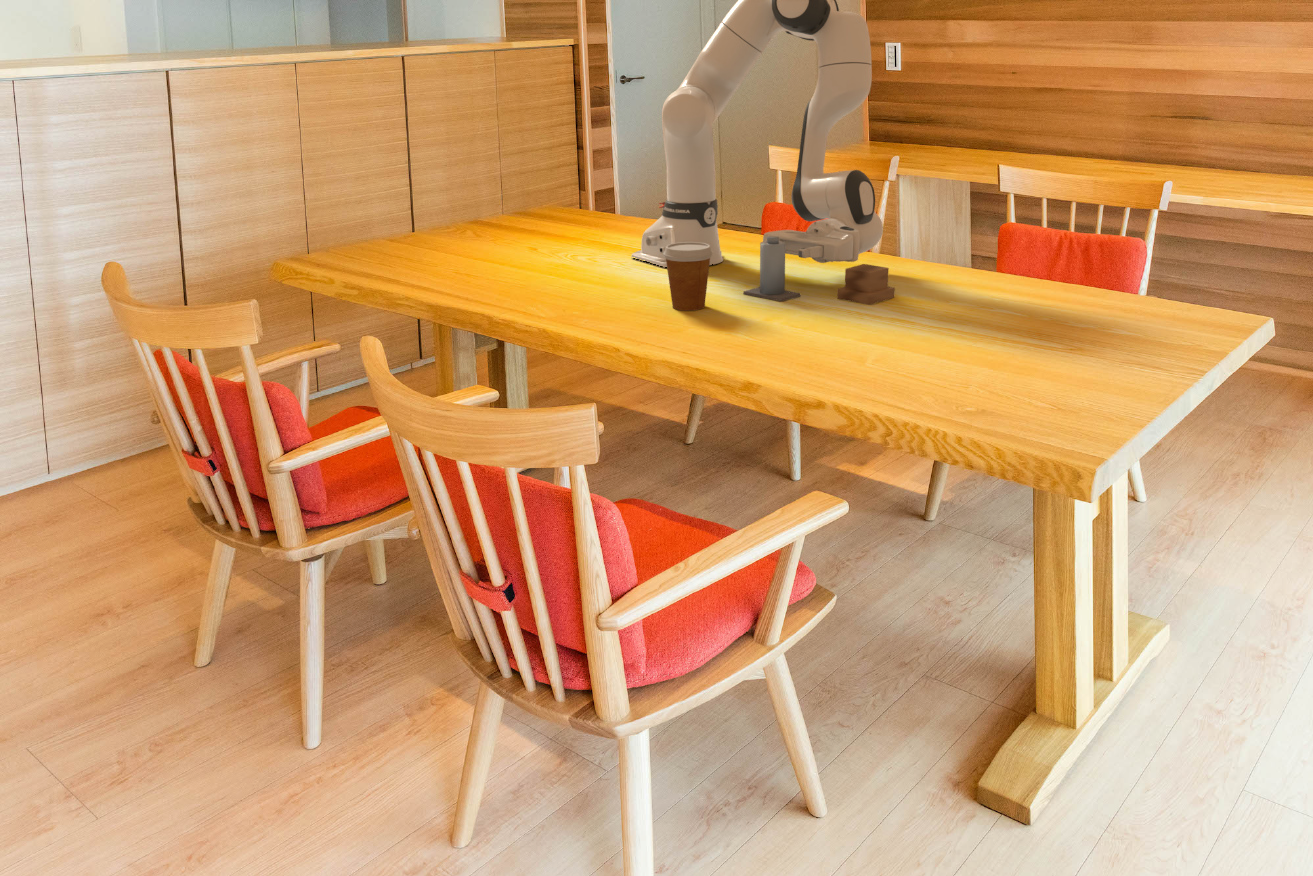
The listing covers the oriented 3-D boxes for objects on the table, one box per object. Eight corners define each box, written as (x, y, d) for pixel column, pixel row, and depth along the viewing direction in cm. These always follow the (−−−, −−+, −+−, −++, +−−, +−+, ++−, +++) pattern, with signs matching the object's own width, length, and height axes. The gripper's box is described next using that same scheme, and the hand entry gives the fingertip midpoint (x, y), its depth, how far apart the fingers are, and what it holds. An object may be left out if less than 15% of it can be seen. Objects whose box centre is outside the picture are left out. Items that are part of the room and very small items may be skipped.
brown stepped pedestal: (837, 298, 227) (838, 268, 225) (861, 291, 232) (862, 262, 230) (870, 304, 221) (871, 274, 219) (894, 297, 226) (895, 267, 224)
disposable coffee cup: (662, 302, 227) (660, 242, 223) (709, 300, 228) (708, 240, 224) (667, 314, 218) (665, 251, 214) (716, 311, 219) (715, 249, 215)
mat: (743, 294, 232) (743, 291, 232) (762, 289, 236) (762, 286, 236) (781, 301, 226) (781, 298, 225) (800, 296, 229) (800, 293, 229)
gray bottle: (754, 292, 231) (755, 237, 227) (770, 288, 234) (771, 234, 230) (773, 296, 227) (774, 240, 223) (789, 291, 230) (790, 236, 227)
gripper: (787, 220, 245) (744, 229, 236) (865, 231, 231) (822, 241, 222) (787, 249, 247) (744, 259, 238) (864, 261, 233) (821, 272, 224)
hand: (783, 250), depth 230 cm, fingers open, 8 cm apart
